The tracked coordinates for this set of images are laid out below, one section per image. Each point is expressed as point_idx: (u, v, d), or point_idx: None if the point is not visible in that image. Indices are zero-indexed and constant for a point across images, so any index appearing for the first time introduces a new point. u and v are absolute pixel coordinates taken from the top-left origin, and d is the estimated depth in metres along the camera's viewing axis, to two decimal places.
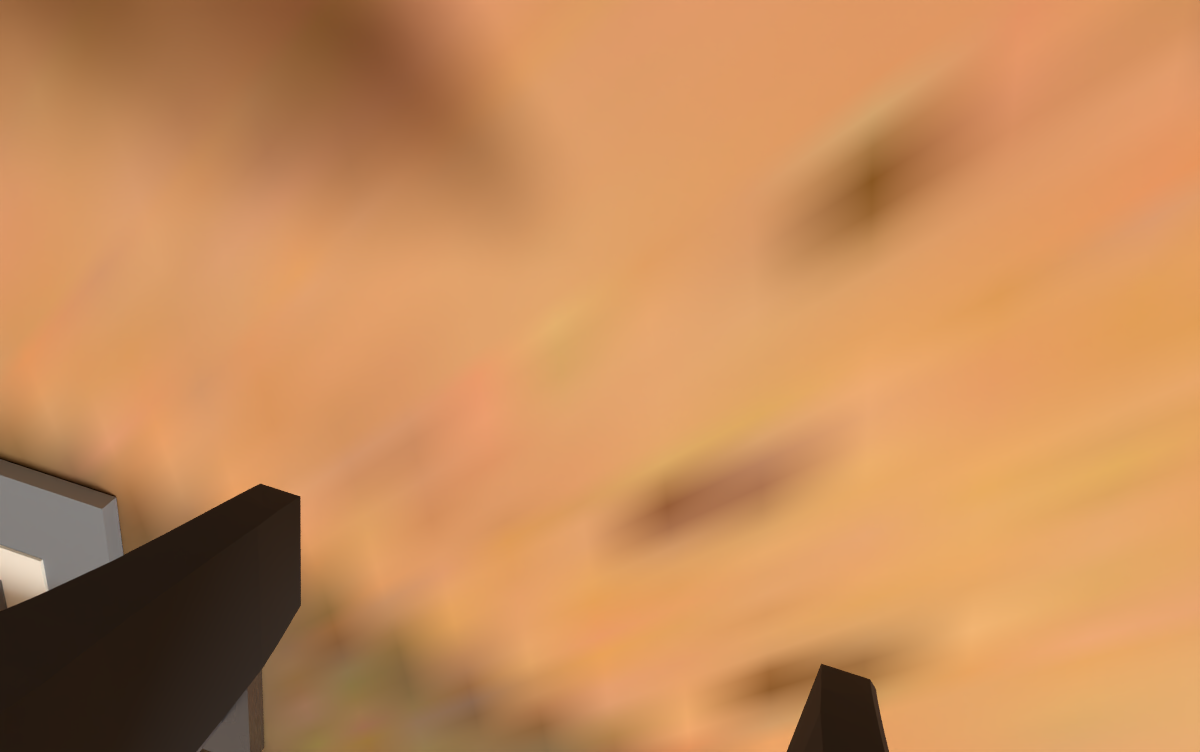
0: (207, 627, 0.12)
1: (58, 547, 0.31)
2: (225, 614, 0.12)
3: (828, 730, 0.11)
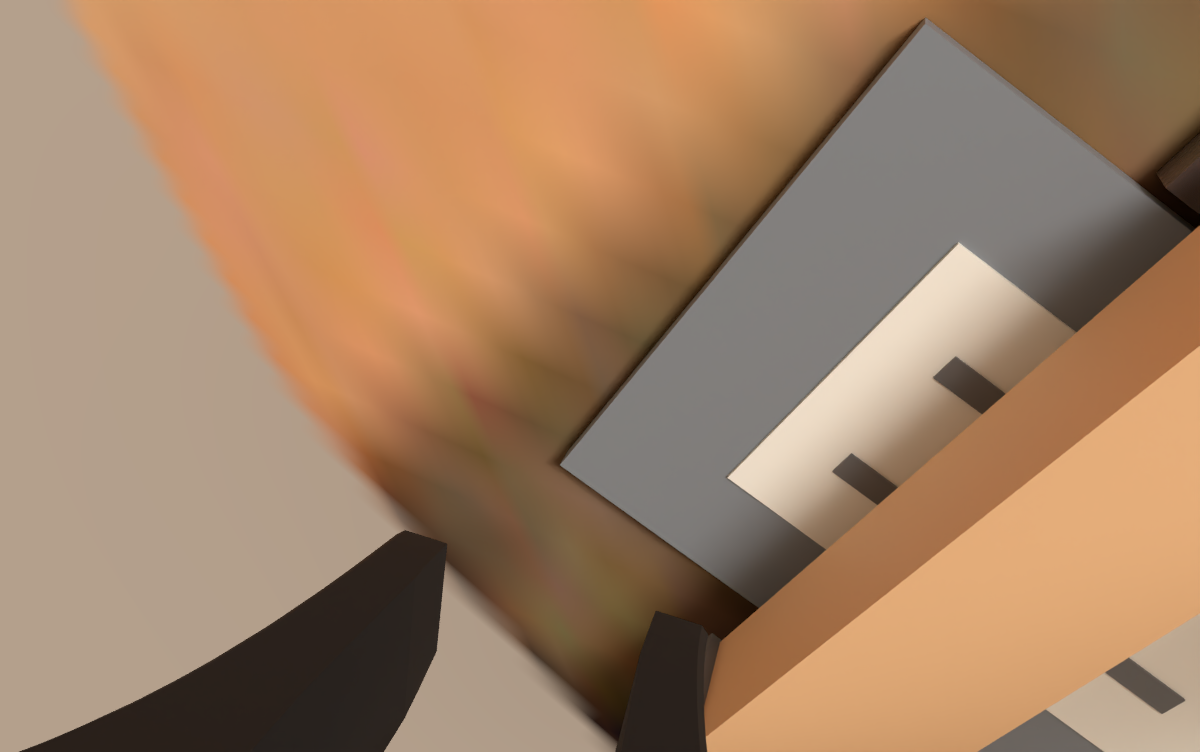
0: (369, 683, 0.12)
1: (951, 188, 0.18)
2: (383, 669, 0.12)
3: (644, 669, 0.11)
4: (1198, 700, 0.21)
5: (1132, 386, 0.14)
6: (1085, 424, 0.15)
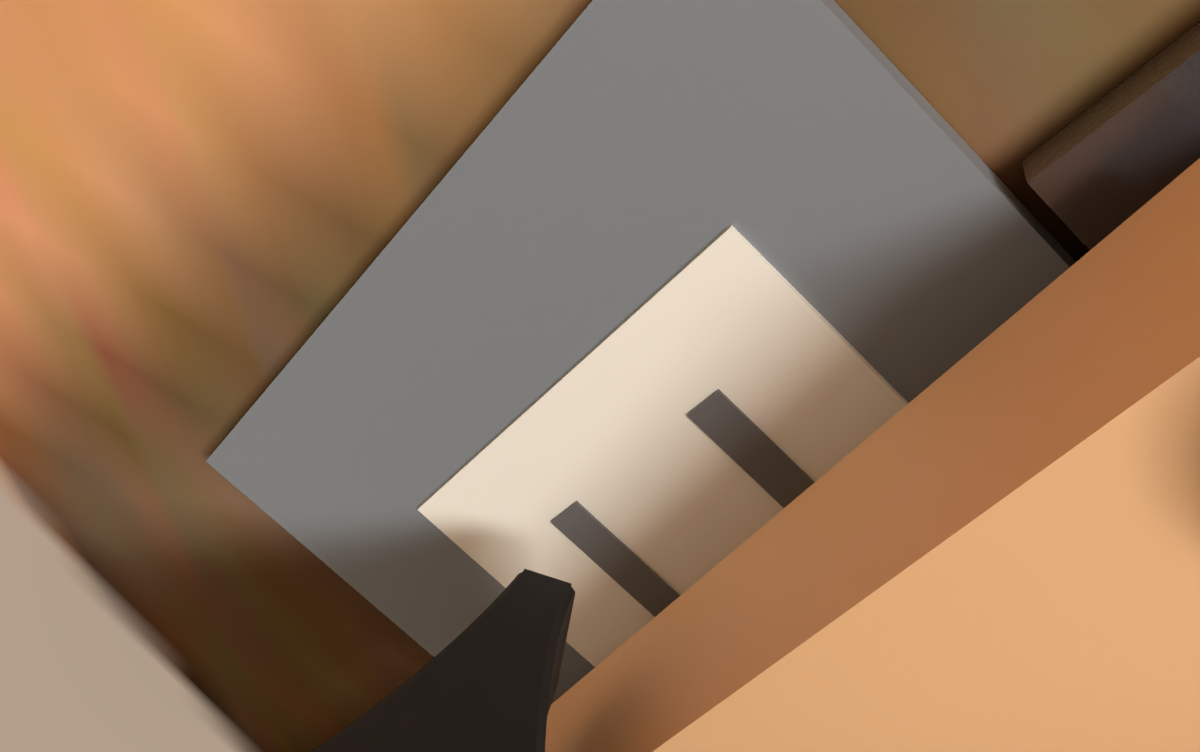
0: None
1: (725, 141, 0.12)
2: None
3: (499, 621, 0.11)
4: None
5: (928, 533, 0.09)
6: (860, 582, 0.09)
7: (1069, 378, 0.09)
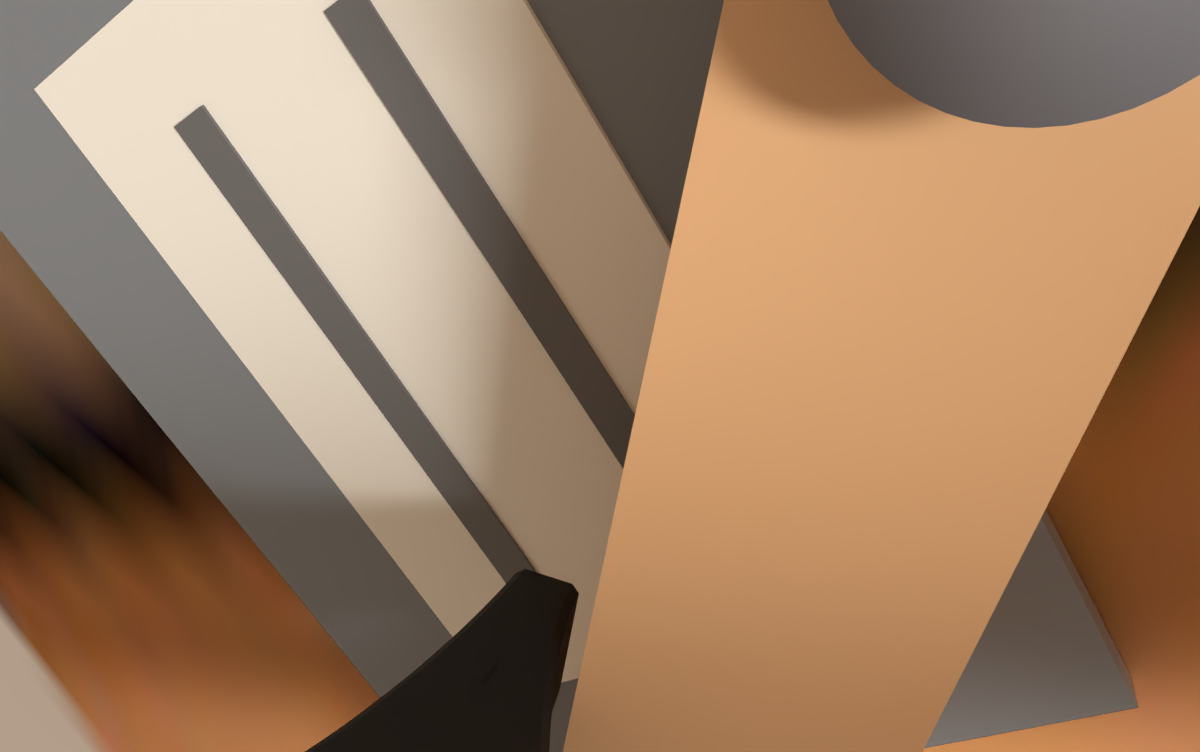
0: None
1: None
2: None
3: (503, 622, 0.11)
4: None
5: (656, 338, 0.09)
6: (638, 419, 0.09)
7: None
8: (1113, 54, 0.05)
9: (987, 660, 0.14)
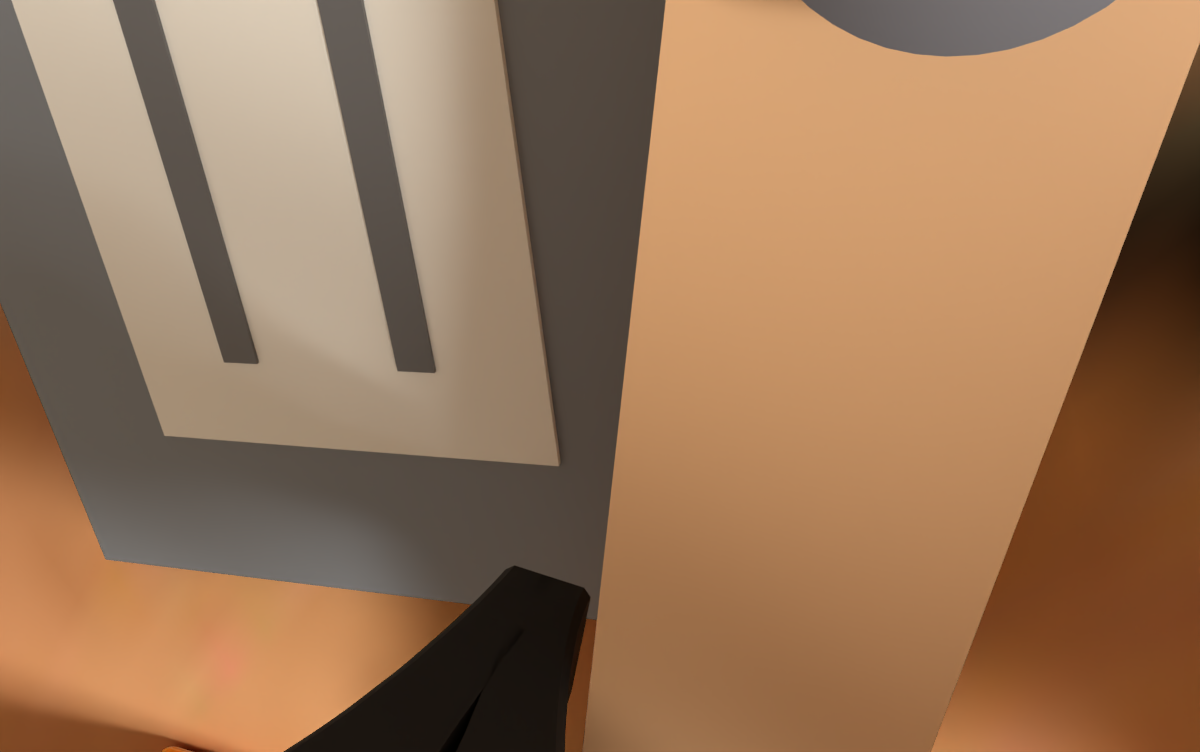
0: None
1: None
2: None
3: (516, 627, 0.11)
4: (271, 374, 0.15)
5: (637, 314, 0.09)
6: (628, 397, 0.09)
7: None
8: None
9: None
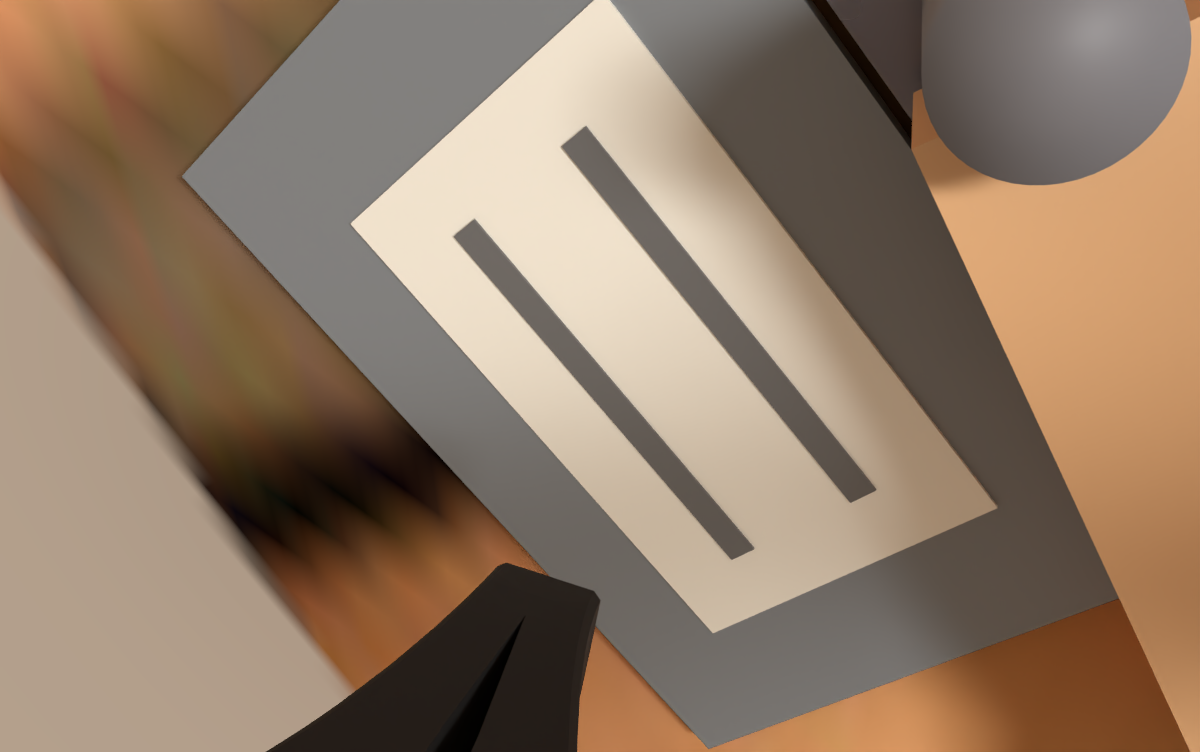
0: (481, 723, 0.11)
1: None
2: None
3: (527, 630, 0.11)
4: (766, 551, 0.21)
5: (1017, 372, 0.14)
6: (1040, 422, 0.14)
7: None
8: (1134, 106, 0.10)
9: (1088, 545, 0.19)
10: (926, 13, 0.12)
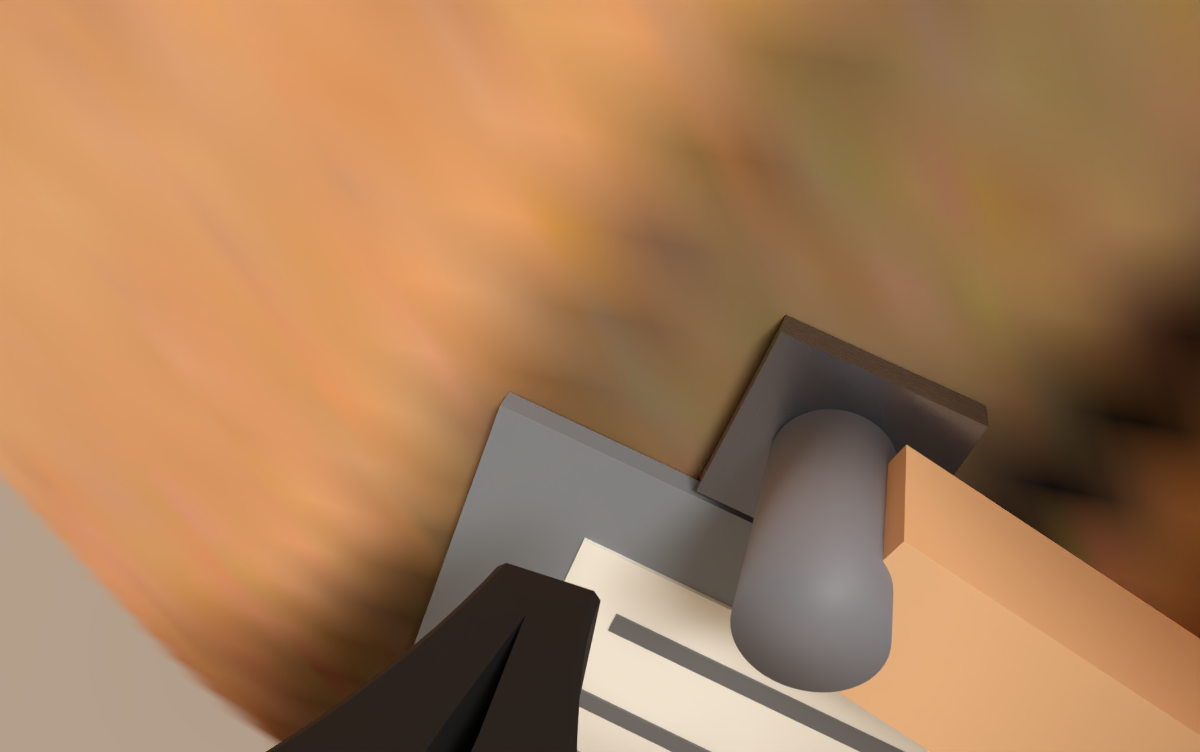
0: (482, 723, 0.11)
1: (563, 503, 0.24)
2: None
3: (527, 630, 0.11)
4: None
5: (941, 747, 0.19)
6: None
7: None
8: (870, 639, 0.16)
9: None
10: None
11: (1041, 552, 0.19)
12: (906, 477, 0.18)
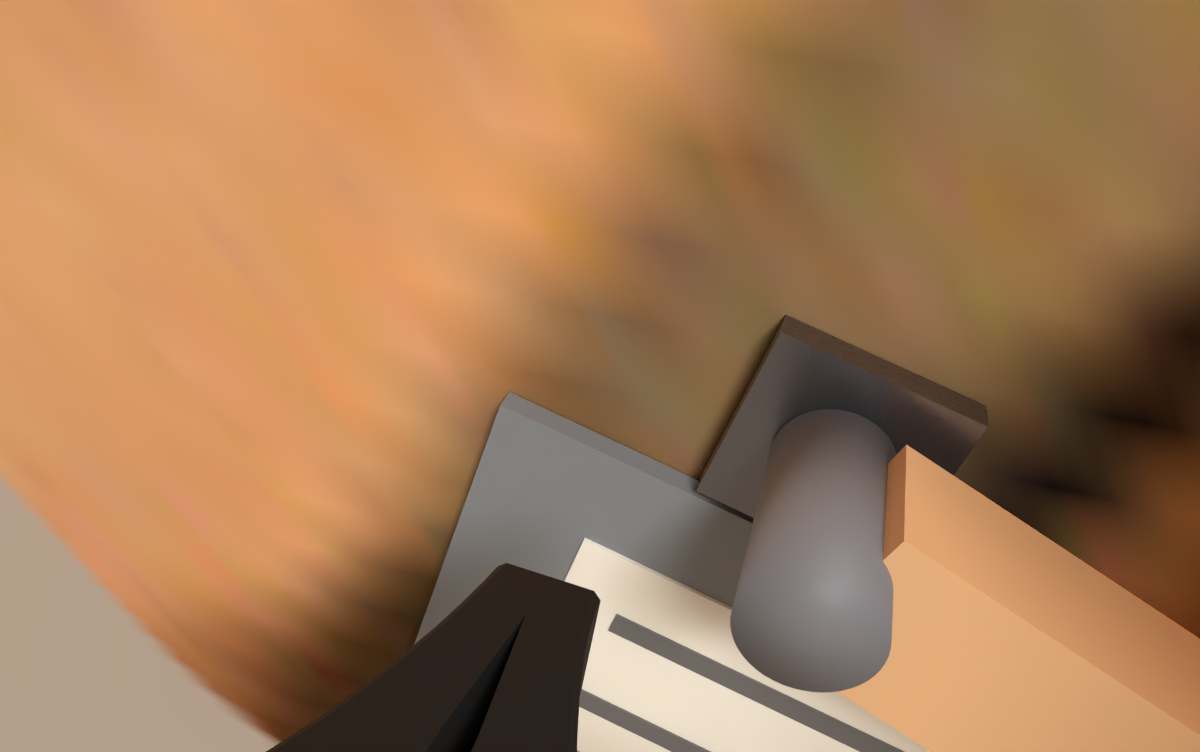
0: (482, 723, 0.11)
1: (563, 503, 0.24)
2: None
3: (527, 630, 0.11)
4: None
5: (941, 747, 0.19)
6: None
7: None
8: (870, 639, 0.16)
9: None
10: None
11: (1041, 552, 0.19)
12: (906, 477, 0.18)
